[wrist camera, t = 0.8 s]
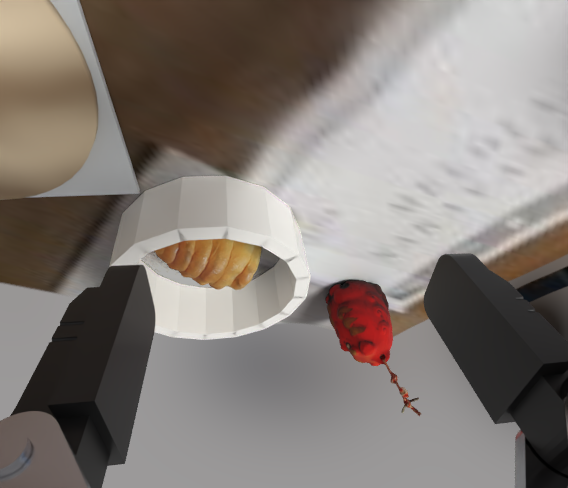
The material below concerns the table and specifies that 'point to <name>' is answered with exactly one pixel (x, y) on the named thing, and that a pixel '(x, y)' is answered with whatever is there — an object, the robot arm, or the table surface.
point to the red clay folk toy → (364, 325)
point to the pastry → (213, 261)
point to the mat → (109, 140)
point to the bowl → (216, 225)
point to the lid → (42, 100)
